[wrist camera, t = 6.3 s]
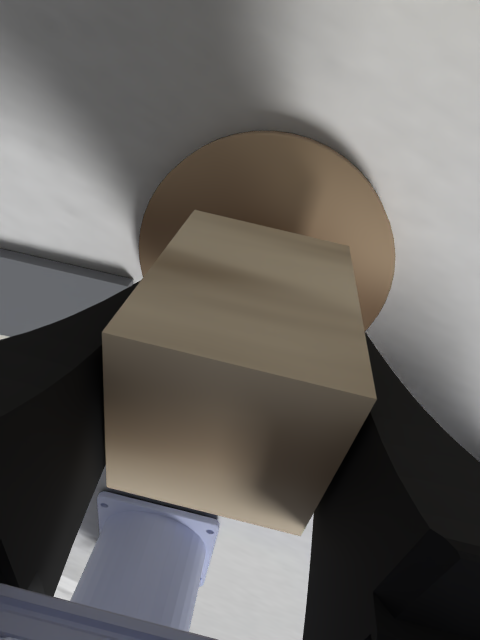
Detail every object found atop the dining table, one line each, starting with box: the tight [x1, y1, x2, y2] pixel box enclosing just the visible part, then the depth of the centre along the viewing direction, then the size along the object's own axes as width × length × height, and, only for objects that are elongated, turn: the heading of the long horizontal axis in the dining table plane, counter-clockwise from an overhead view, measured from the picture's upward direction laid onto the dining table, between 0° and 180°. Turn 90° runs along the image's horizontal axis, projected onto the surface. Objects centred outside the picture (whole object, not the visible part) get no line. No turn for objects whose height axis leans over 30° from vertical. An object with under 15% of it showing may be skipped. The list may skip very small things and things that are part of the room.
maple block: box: [102, 210, 377, 536], centre depth 10 cm, size 4×4×6 cm
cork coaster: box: [139, 131, 395, 331], centre depth 14 cm, size 9×9×1 cm
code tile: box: [0, 249, 133, 340], centre depth 19 cm, size 12×12×1 cm
